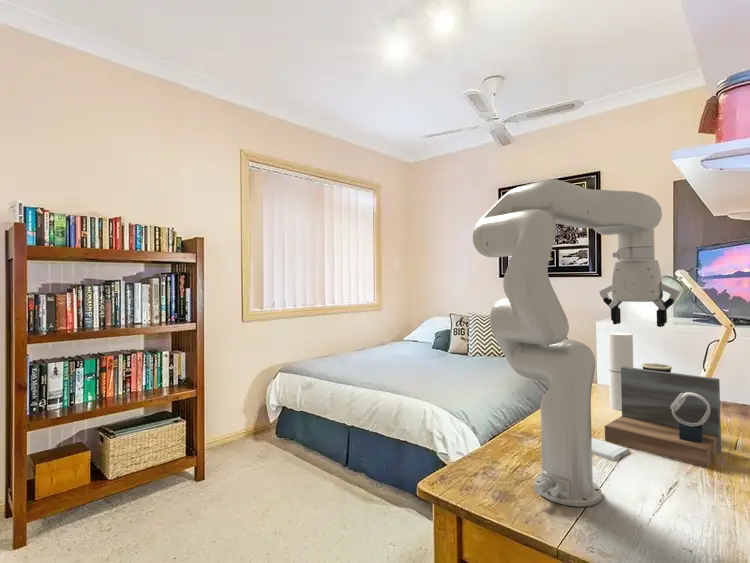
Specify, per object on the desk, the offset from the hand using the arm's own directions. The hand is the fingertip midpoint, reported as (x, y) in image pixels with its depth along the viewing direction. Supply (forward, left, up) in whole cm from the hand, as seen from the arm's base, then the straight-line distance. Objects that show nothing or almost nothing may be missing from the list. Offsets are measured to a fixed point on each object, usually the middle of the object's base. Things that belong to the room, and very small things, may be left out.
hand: (638, 325), depth 103 cm
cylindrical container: (+38, +18, -32) cm, 53 cm away
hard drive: (-3, +9, -33) cm, 35 cm away
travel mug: (+26, +4, -32) cm, 42 cm away
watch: (+10, -8, -28) cm, 31 cm away
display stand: (+11, -1, -32) cm, 34 cm away
